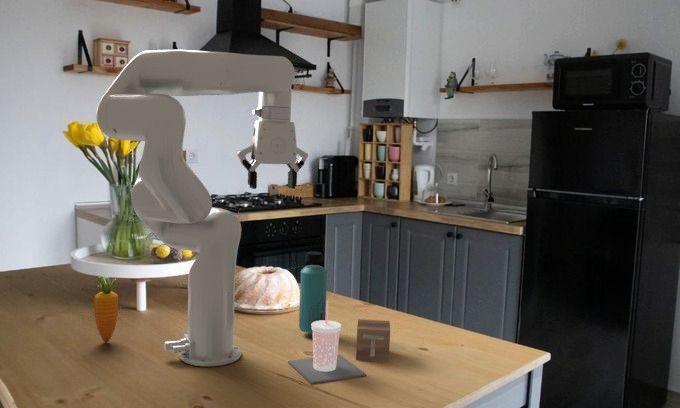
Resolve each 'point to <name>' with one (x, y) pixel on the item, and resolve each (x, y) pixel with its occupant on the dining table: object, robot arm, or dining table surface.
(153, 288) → the dining table surface
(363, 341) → the letter cube
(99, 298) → the carrot
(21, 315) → the dining table surface
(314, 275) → the beverage bottle
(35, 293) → the dining table surface
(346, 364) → the grey mat
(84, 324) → the dining table surface
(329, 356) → the beverage cup
